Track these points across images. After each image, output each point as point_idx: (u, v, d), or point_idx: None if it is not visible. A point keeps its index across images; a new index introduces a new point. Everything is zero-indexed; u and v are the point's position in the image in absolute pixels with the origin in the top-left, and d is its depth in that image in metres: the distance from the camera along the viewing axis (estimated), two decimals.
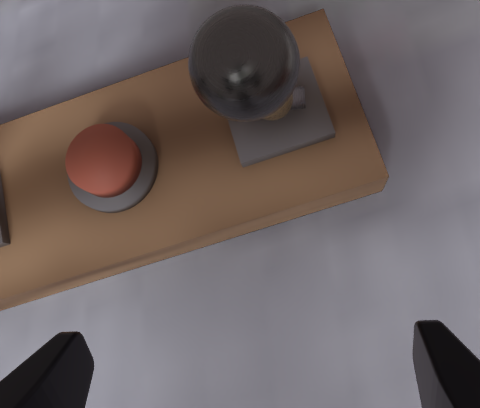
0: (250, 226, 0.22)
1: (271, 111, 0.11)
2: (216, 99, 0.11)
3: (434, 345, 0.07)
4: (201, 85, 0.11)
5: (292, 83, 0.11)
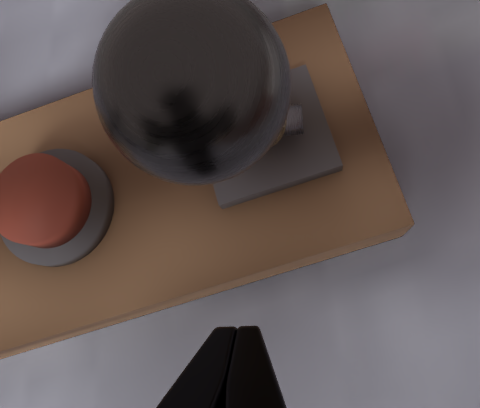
0: (232, 284, 0.17)
1: (241, 170, 0.06)
2: (138, 153, 0.06)
3: (239, 349, 0.08)
4: (110, 128, 0.06)
5: (277, 122, 0.06)
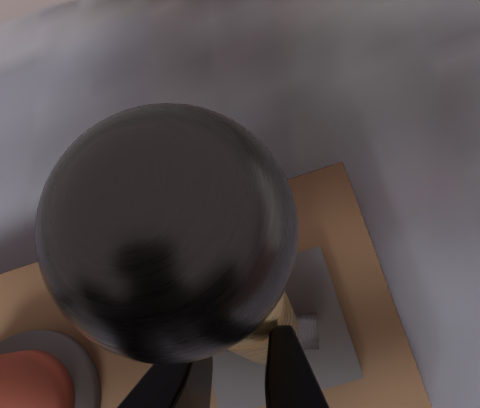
0: None
1: (219, 342, 0.04)
2: (69, 297, 0.04)
3: (275, 349, 0.08)
4: (42, 258, 0.04)
5: (275, 273, 0.04)
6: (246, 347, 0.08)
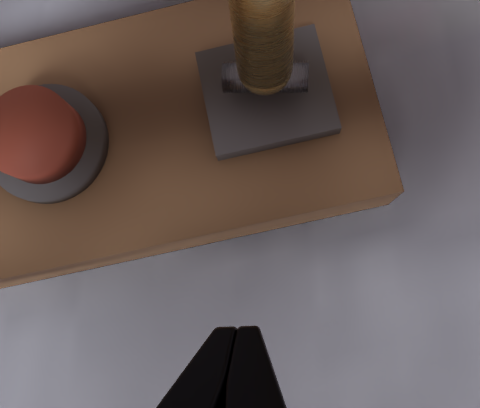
0: (221, 236, 0.17)
1: None
2: None
3: (239, 349, 0.08)
4: None
5: None
6: None
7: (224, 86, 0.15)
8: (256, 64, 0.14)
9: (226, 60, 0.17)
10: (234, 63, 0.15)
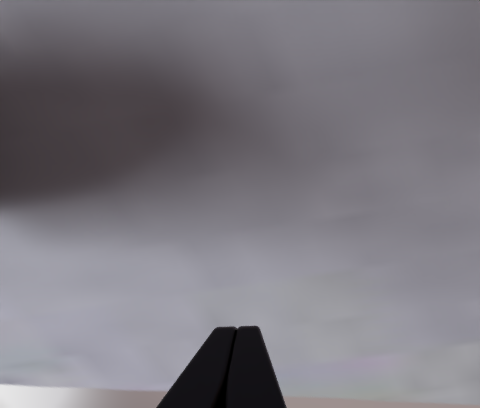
0: None
1: None
2: None
3: (239, 349, 0.08)
4: None
5: None
6: None
7: None
8: None
9: None
10: None
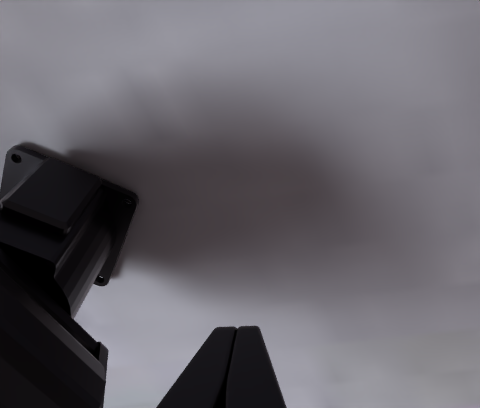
0: None
1: None
2: None
3: (239, 350, 0.08)
4: None
5: None
6: None
7: None
8: None
9: None
10: None
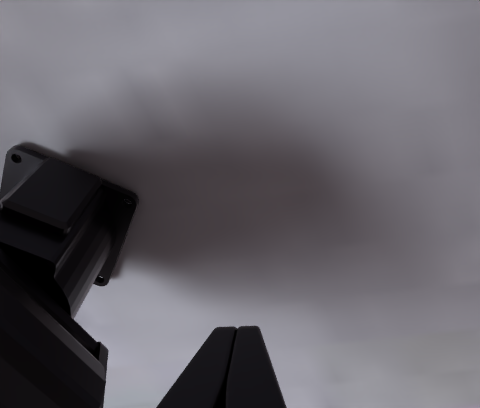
0: None
1: None
2: None
3: (239, 349, 0.08)
4: None
5: None
6: None
7: None
8: None
9: None
10: None
